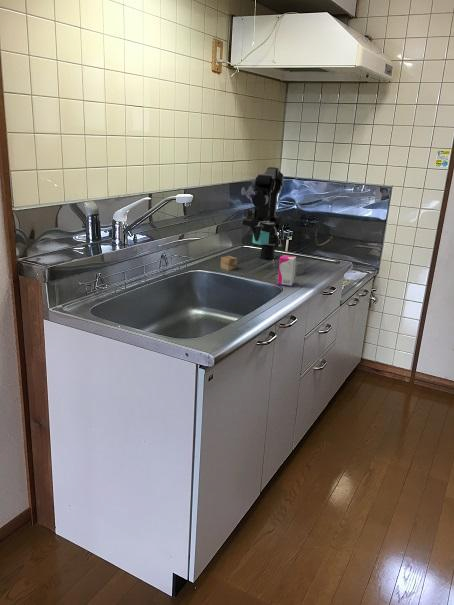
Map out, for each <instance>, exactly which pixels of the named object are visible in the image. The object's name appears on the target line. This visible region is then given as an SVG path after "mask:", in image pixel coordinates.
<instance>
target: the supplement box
mask: <svg viewBox="0 0 454 605" xmlns="http://www.w3.org/2000/svg"><path fill="white" fill-rule="evenodd" d="M296 261H297V256H295V255H285V254H282V255H281V256H280V257H279V264H278V265H279V266H278V276H277V286H280V287H281V286H282V287H283V286H284V287H289V288H290V287H291V288H292V286H293V285H294V284H295V276H296V275H295V266H296Z"/></svg>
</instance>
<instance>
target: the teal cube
mask: <svg viewBox="0 0 454 605" xmlns="http://www.w3.org/2000/svg"><path fill="white" fill-rule="evenodd" d="M268 243H269V232H265V231H260V235H259V239H258V241H255V238H254V234H253V233H252V244H256V245H264V244H268Z"/></svg>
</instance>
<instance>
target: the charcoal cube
mask: <svg viewBox="0 0 454 605" xmlns="http://www.w3.org/2000/svg"><path fill="white" fill-rule="evenodd" d="M304 272H305V262H303V261H298V260H296V266H295V276H299V275H303V274H304Z"/></svg>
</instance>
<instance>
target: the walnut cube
mask: <svg viewBox="0 0 454 605" xmlns="http://www.w3.org/2000/svg"><path fill="white" fill-rule="evenodd" d="M237 264H238V258H237V257H235V256H231V255H226V256H221V257H220V269H222V270H225V269H226V270H225V271H233V270H237Z"/></svg>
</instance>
